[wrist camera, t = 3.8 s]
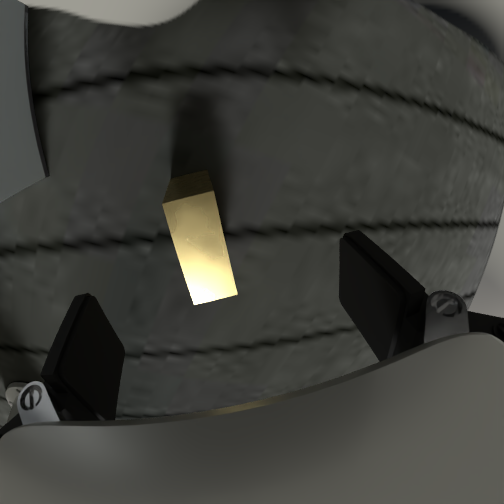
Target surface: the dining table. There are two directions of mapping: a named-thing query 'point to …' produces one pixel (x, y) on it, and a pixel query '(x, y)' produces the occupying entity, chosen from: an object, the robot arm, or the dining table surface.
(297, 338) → the dining table surface
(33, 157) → the box
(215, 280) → the brass block
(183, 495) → the robot arm
